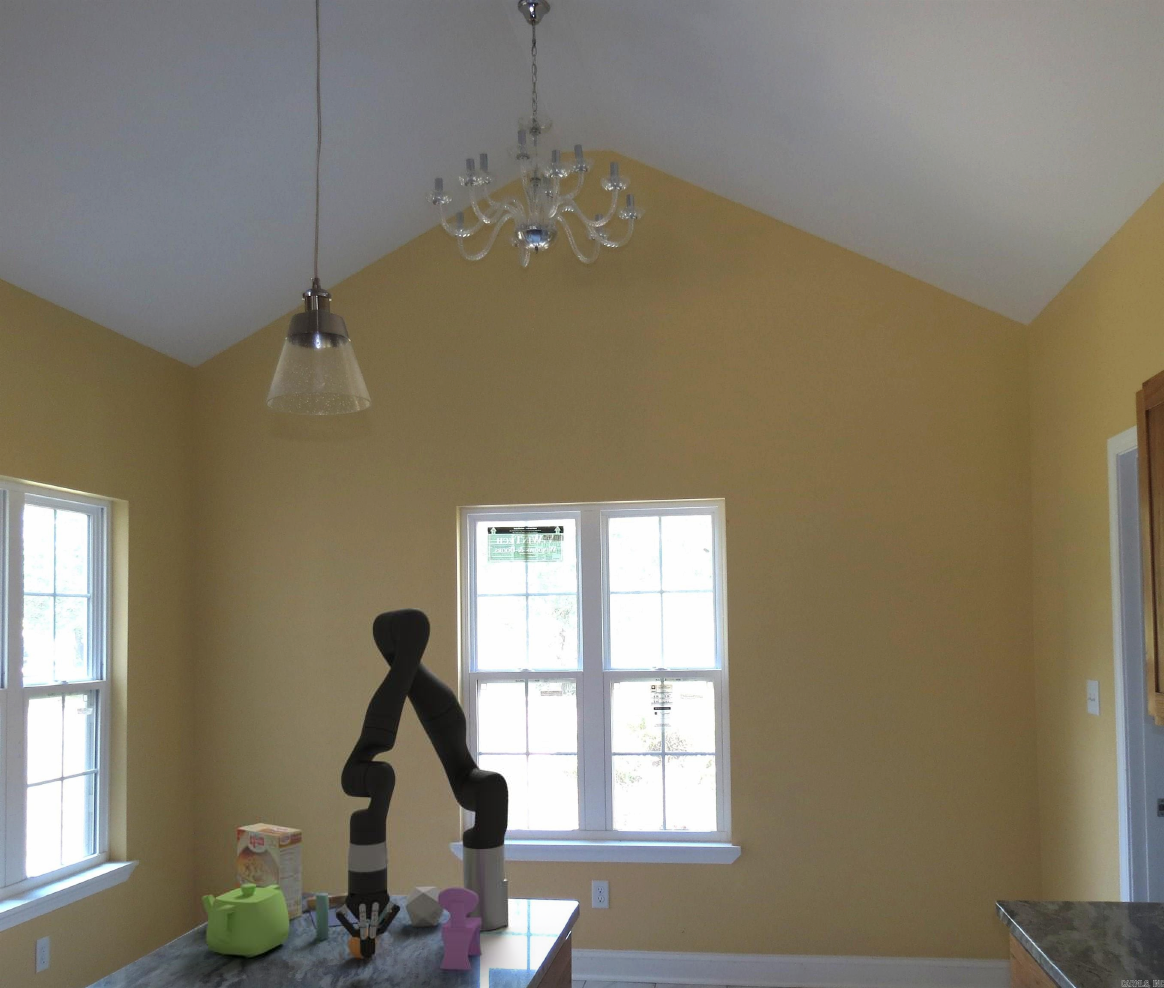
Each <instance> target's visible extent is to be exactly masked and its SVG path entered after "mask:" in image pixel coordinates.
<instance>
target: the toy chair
mask: <svg viewBox="0 0 1164 988" xmlns="http://www.w3.org/2000/svg"><path fill="white" fill-rule="evenodd" d="M439 892H440V893H439V895H438V903H439V904H440V906H441V907H443V908H444V910H446V912H448V913H449V915H450V917H449V919H448V920H447V921H446V922H445V923H444V924H443V925H442V926H441V934H440V936H441V940H442V943H443V946H444V954H443V958H442V962H441V964H440V966H439V969H442V970H444V969H445V970H464V971H465V970H466V971H468V970H472V966H471V964H470V960H469V956H483V952H482V949H481V945H480V940H479V939H480V936H479V935H480V929H481V926H482V922H481V917H472V918H466V915H467V914H468V913H470V912H471V911H473V910H474V908H475V907H476V906H477V904H478V901H479V898H478V895H477V894H476V893H475V892H473V891H471V890H469V889H466V888H463V887H461V886H460V887H459V886H458V887H456V886H454V887H451V886H450V887H447V888H445V889H443V890H442V891H439Z"/></svg>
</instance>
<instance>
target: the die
mask: <svg viewBox="0 0 1164 988" xmlns="http://www.w3.org/2000/svg"><path fill="white" fill-rule="evenodd" d="M440 892H441V891H440V890H439V888H438V886H414V887H413V890H412V891H411V893H410V896H409V898H408V900H407V901H406V903H405V905H404V908H405V909H406V912H407V914H408V917H409V920H410V922H411V925H412V927H413V928H414V927H415V928H417V927H436V926H437V924H438V923H439V920H440V918H441V916H442V914H443V912H444V910H445V909H444V908H443V907H441V906H440V904H439V903H438V895H439V893H440Z"/></svg>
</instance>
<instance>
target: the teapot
mask: <svg viewBox="0 0 1164 988" xmlns="http://www.w3.org/2000/svg"><path fill="white" fill-rule="evenodd" d="M201 900H202V904H203V906H204V909H205V911H206V913H207V917H208V919H207V920H208V921H207V925H206V926H207V927H206V935H205V940H206V944H207V946H208V949H209V950H210V952H214V953H218V954H219V953H220V954H221V955H233V956H235V955H236V956H244V957H245V958H254V957H256V956H258V955H261V954H264V953H266V952H268V951H270V950H272V949H273V948H274V949H275V948H276V947H278V946H280V945H281V944H283V943H284V942H286V941H287V938H288V935H289V933H290V920H289V917H288V911H287V906H286V903H285V899H284V896H283V893H282V891H280V886H279V885H270V886H268V887H266V888H256V884H252V883H250V884H244V885H242V886H241V888H237V887H236V888H235V889H233V890H230V891H228V892H225V893H223V894H221V895H219V896H216V897H214V896H213V894H210V895H209V894H208V895H204V896H202V897H201Z"/></svg>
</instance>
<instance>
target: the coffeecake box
mask: <svg viewBox="0 0 1164 988" xmlns="http://www.w3.org/2000/svg"><path fill="white" fill-rule="evenodd" d="M302 831H303V830H302V829H298V828H292V827H286V826H282V825H281V826H280V825H274V824H268V823H262V822H260V823H258V822H257V823H254V824H250V825H244V826H242V827H237V845H236V847H237V851H236V852H237V857H236V859H237V861H236V862H237V864H236V866H237V867H236V869H237V870H236V874H237V876H236V877H237V880H236V882H237V883H236V885H237V886H236V889H237V888H241V886H242V885H244V884H250V883H252V884H256V888H266V887H268V886H270V885H279V886H280V891H282V893H283V896H284V899H285V903H286V906H287V911H288V917H289V921H290V920H294V919H296V918H298V917H299V918H300V917H302V913H303V911H302V909H303V908H302V898H303V893H302V891H303V890H302V883H303V882H302V880H303V879H302V874H303V873H302V867H303V866H302V859H303V858H302V855H303V853H302V847H303V846H302V840H303V839H302V838H303V837H302V836H303V835H302Z"/></svg>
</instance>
